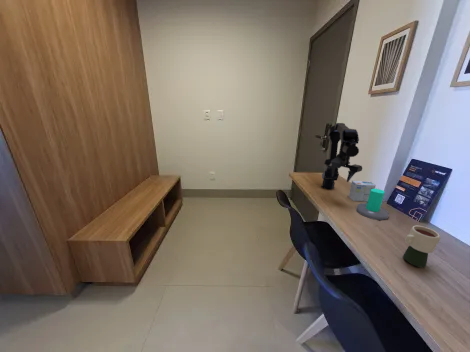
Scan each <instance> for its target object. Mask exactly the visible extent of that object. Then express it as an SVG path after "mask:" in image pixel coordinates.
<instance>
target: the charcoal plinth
mask: <svg viewBox="0 0 470 352" xmlns="http://www.w3.org/2000/svg"><path fill="white" fill-rule="evenodd" d="M366 206H367V202H365V203H363V202H362V203H359V204H357V205H356V212H357V213H358V214H360V215H362V216H363V217H366V218H369V219H372V220H377V221H385V220H387V219H388V218H389V215H390V212H389V211H388V210H387V209H386V208H384V207H382V206H381V207H380V211H379V212H373V211H370V210H368V209H366Z"/></svg>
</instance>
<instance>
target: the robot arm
mask: <svg viewBox="0 0 470 352" xmlns="http://www.w3.org/2000/svg"><path fill="white" fill-rule="evenodd" d="M327 139H328V142H329V144H330V145H329V153H328V158H326V159H325V160H324V163H323V164H324V165H326V167H325V168H324V171H323V172H322V174H321V179H322V185H321V186H320V187H321V188H322V189H325V190H328V191H329V190H334V189H335V184H336V182H335V181H338V178H339V175H340V173H339V169H340V168H342V167H343V168H347V169H349V170H348V175H347V178H346V183H349V182H350V180H351V179H352V178H353V177H354V175H355V174H356V173H359V172H362V171H363V166H362V165H359V164H356V163H355V164H352V165H351V162H350V160H351V159H350V158H352V157H353V158H354V157H356V156H358V154H359V152H360V149H359V147H358V146H356V145H359V141H360V137H359V132H358V130H357V129H355V128H349V127H348V126H347V125H346V124H345V123H343V122H336V123H335V124H334V125H332V126H331V127H329V129H328V130H327ZM339 142H340V147H339ZM338 147H339V152H338Z"/></svg>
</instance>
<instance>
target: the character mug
mask: <svg viewBox="0 0 470 352" xmlns="http://www.w3.org/2000/svg"><path fill="white" fill-rule="evenodd" d="M440 240H441V235H440V234H439V232H437V231H435V230H434V229H432V228H429V227H426V226H424V225H413V226H412V227H411V228H410V231H409V233H408V234H407V235H406V237H405V239H404V242H405V244H407V245H408V247H407V248H406V250H405V252H404V253H403V255H402V258H403V259H404V260H405V261H406V262H407V263H409V264H411V265H413V266H415V267H418V268H425V267H426V266H427V262H428V257H429V254H431V253H433V252H434V251H435V249H436V247H437V245H438V244H439V242H440Z"/></svg>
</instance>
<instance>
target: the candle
mask: <svg viewBox="0 0 470 352" xmlns="http://www.w3.org/2000/svg"><path fill="white" fill-rule="evenodd" d="M384 197H385V190H383V189H380V188H379V187H378V188H375V189H371V190H370V194H369V198H368V202H366V203H367V206H366V209H368V210H370V211H373V212H379V211H380V207H382V204H383V200H384Z"/></svg>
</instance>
